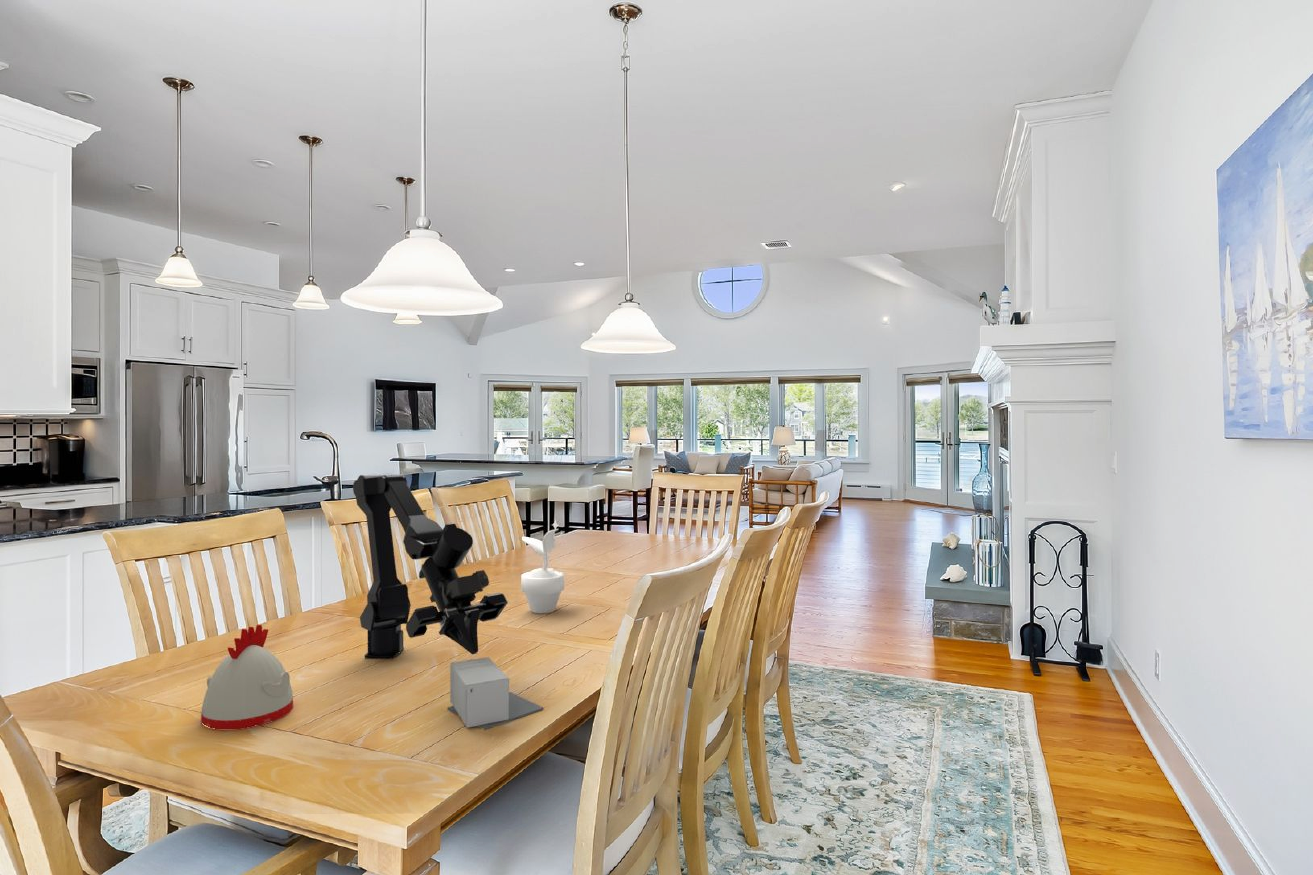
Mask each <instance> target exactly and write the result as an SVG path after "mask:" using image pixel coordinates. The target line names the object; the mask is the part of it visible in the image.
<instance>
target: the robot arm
mask: <svg viewBox="0 0 1313 875" xmlns="http://www.w3.org/2000/svg"><path fill="white" fill-rule="evenodd" d="M352 491H353V495H354V496H355V500H356V505H357V507H359V509H360V510H361V511H362V513H363V514H364V515H365V517H366V525H367V534H368V543H369V551H370V552H369V554H370V559H371V560H370V562H371V569H372V580H373V581H372V584H371V587H370V588H369V590H368V592H367V595H366V601H367V602H366V603H367V604H366V605H365V607H364V609H363V611H362V613H361V615H360V616H359V622H360V627H361V628H362V629H365V630H367V653H365V654H364V659H365V658H368V659H369V658H375V659H376V658H377V659H378V658H385V659H386V658H387V659H388V658H396V657H397V656H398V655H399V654H401V652H402V651H403V650H404V649H405V647H404V630H402V625H405V631H406V633H407V635H408V637H409V638H410V639H412V638H417V637H422V636H424V635H425V634H426V633H427V631H428V627H427V626H429V625H430V626H431V625H434V624H439V625H440V629H439V631H438V634H439V635H440V636H443V635H444V636H446V637H447V638H449V639H451V640H452V641H453V642H455V643H457V644H458V645H459V646H460V647H462V648H463V649H464V650H465V651H467V652H468V653H469V654H471V655H477V654H478V652H479V641H478V638H479V637H478V625H479V624H478V623H479V622H478V621H481V622H482V623H483V622H489V621H493V620H495V619H497V618H498V617H499V616H500V614H501V613H502V612H503V610H504V609H505V608H506V606H507V605H508V603H509V602H508V600H507V598H506V596H505V594H504V593H502V592H496V593H489V594H486V595H484V596H483V597H482V599H481V600H480V602H479V603H475V604H471V603H472V602H473V601H475V599H476V598H477V597H476V594H478V593H481V592H483V591H484V589H485V588H486V587H488V586H489V585H490V580H489V577H488V575H487V573H486V571H485V570H484V569H482V570H477V571H475V572H473V573H472V574H471V575H465V576H459V575H458V573H457V570H456V568H458V567H459V566H461V564H462V563H463V561H464V559H466V556H467V554H468V553H469V551H470V550H471V548H472V546H473V544H474V540H473V536H472V535H471V533H469V532H467V530H465V529H463V528H460V527H457V524H456V523H448V524H447V523H445V525H444V527H443V528H442V527H441V526H440V524H439V523H438V522H437V521H435V520H433V519H430V518H428V517H427V516H426V514H425V513H424V511H423V510H422V507H421V506H420V504H419V503H418V501H417V499H416V497H415V496H414V493H413V492H412V491H411V488H410V487H409V485H408V480H407V478H406V476H405V475H403V474H400V473H397V474H389V473H380V474H379V473H378V474H361V475H358V477H357V480H356V479H355V480H354V482H353V485H352ZM391 510H392V511H393V513H394V515H395V516H396V518H397V520H398V522H399V524H400V526H401V527H402V529H403V531H404V537H403V541H402V542H403V544H404V545H403V546H404V547H405V548H404V549H405V552H406V554H407V555H408V556H409V558H410V559H411V560H422V559H425V560H424V561H423V564H421V568H420V571H419V573H418V578H419V579H420V580H421V579H425V581H426V583H427V585H428V587H429V588H428V589H429V590H430V593H431V595H430V597H429V600H430V602H431V603H435V604H436V606H435V605H428V606H423V607H419V608H415V609H414V611H413V612H412V614H411V616H410V610H411V606H412V604H411V601H410V597H409V588H408V585H407V584H406V583H402V582H401V580H400V579H399V578H398V573H397V566H396V565H397V564H396V558H395V557H396V556H395V550H394V548H395V547H394V539H393V531H392V530H393V529H392V522H391V521H392V520H391V513H390V512H391ZM409 616H410V617H409Z"/></svg>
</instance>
